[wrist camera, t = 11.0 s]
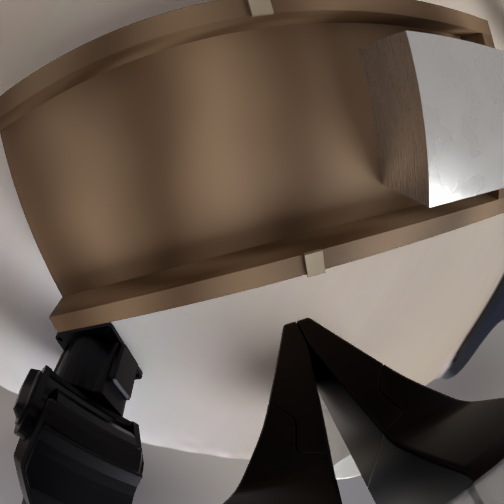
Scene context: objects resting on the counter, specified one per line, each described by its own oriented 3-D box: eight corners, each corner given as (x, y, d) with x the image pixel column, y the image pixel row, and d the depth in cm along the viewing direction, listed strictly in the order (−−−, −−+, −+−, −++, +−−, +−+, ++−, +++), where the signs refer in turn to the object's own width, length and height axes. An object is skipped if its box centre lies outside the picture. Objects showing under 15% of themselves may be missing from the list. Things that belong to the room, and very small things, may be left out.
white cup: (352, 343, 26) (396, 427, 17) (382, 374, 29) (420, 443, 20) (287, 388, 27) (309, 474, 18) (326, 411, 30) (351, 482, 21)
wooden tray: (85, 298, 17) (61, 341, 13) (16, 105, 11) (-31, 109, 7) (465, 199, 17) (506, 220, 13) (443, 22, 11) (487, 12, 8)
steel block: (381, 184, 14) (429, 207, 10) (358, 47, 11) (405, 30, 7) (470, 167, 14) (517, 184, 10) (456, 55, 11) (506, 52, 7)
